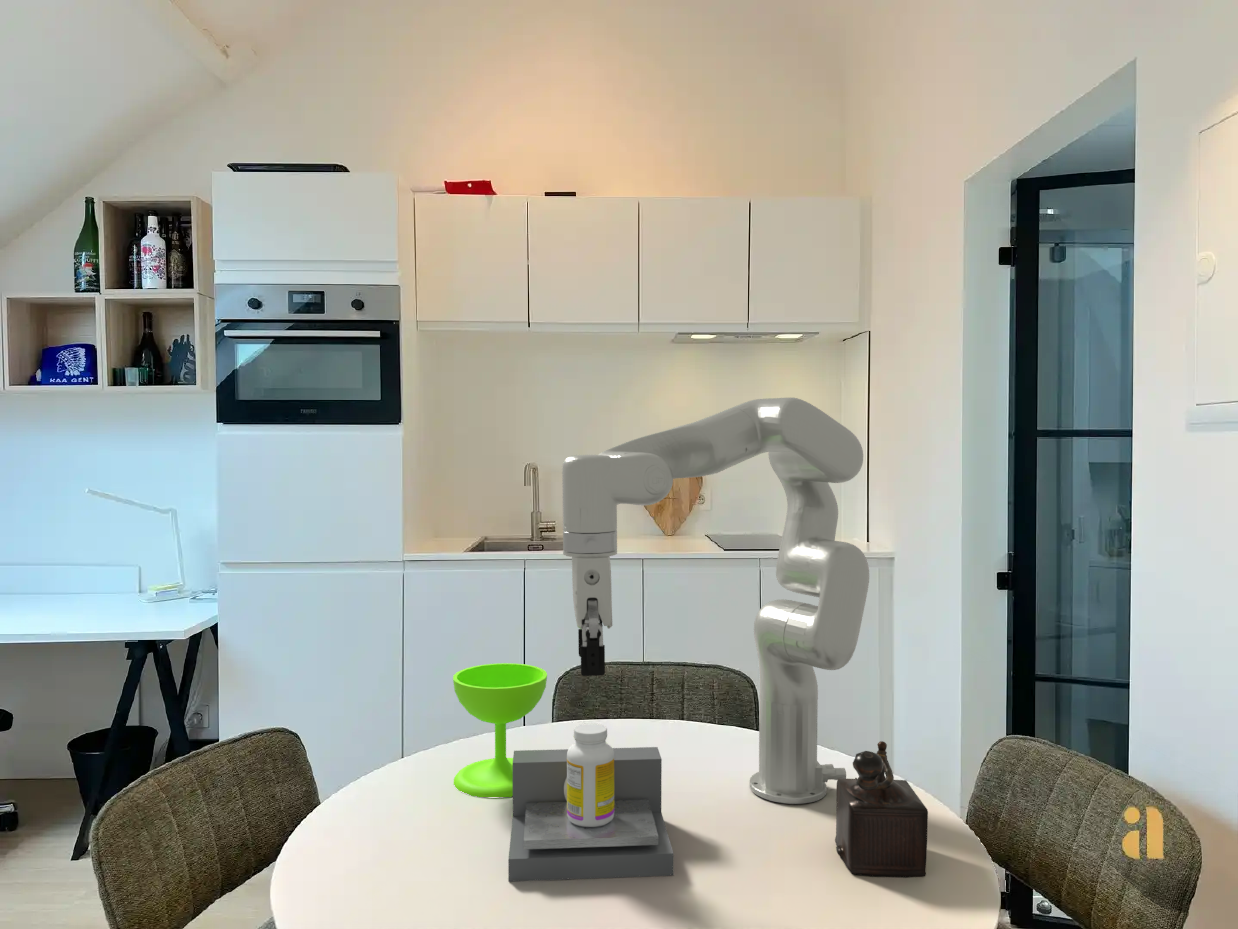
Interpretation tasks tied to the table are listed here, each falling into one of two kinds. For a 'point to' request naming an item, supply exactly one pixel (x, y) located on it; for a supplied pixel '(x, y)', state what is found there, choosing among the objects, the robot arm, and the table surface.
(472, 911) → the table surface
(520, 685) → the wineglass
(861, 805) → the manual coffee grinder
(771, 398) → the robot arm
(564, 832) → the pan
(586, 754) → the supplement bottle
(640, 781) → the scale
